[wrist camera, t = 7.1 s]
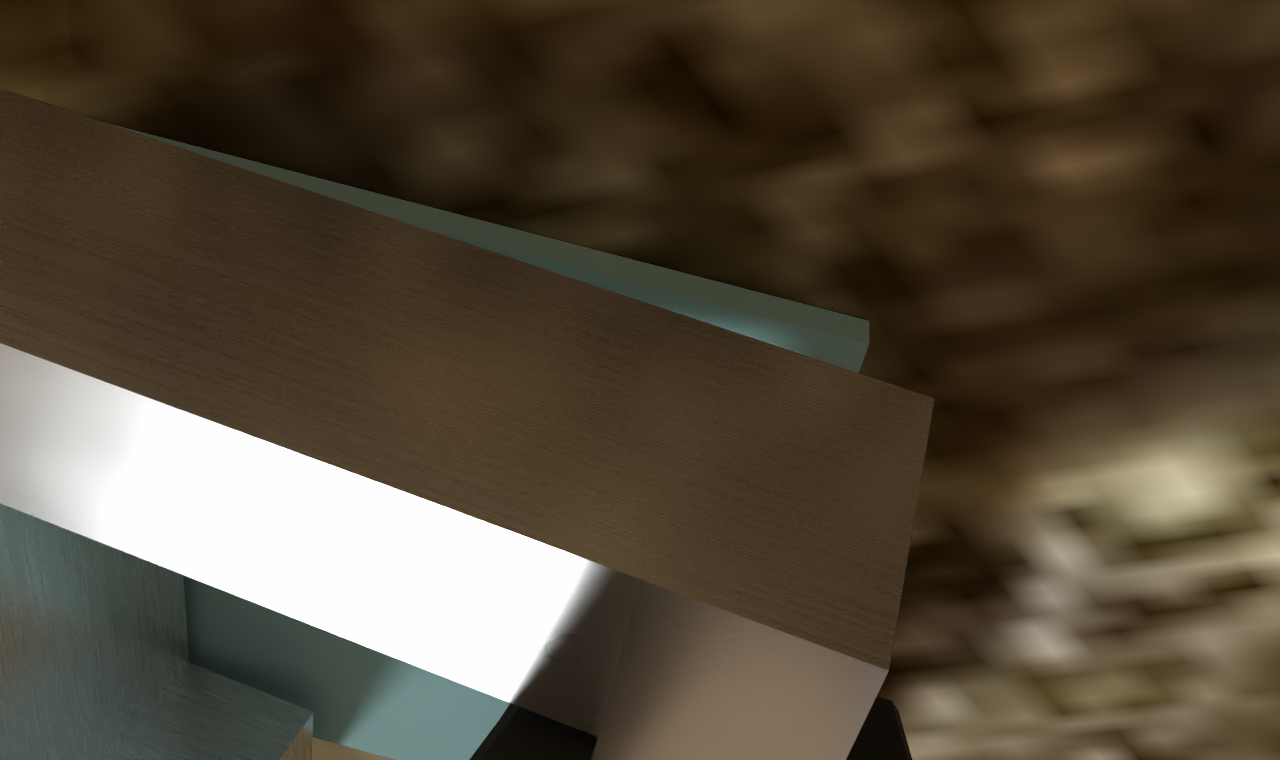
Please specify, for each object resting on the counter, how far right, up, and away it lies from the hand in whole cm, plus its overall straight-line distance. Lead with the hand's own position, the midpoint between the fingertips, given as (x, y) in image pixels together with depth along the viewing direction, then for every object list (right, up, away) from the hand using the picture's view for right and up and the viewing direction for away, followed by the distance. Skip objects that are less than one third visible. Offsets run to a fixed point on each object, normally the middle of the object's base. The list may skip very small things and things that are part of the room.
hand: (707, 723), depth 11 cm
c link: (-4, +1, +3) cm, 5 cm away
